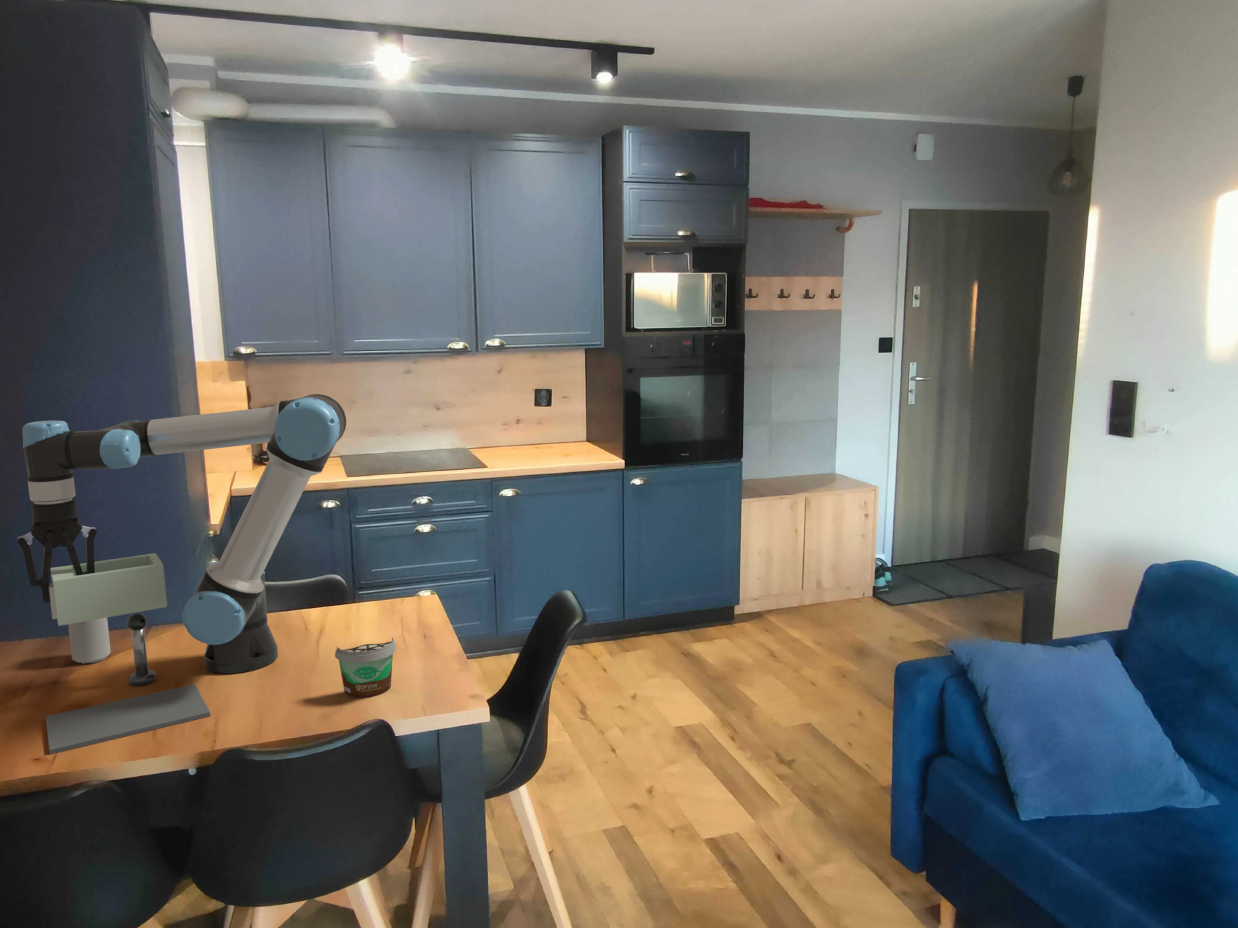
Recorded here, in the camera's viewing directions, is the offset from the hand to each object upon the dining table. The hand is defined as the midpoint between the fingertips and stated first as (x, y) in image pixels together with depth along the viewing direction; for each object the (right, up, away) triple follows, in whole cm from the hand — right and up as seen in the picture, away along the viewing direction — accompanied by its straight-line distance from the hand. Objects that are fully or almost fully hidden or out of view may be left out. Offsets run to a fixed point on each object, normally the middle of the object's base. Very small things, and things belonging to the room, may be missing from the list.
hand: (67, 614), depth 174 cm
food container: (+60, -17, +4) cm, 62 cm away
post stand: (+10, -16, +10) cm, 21 cm away
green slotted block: (+6, 0, +4) cm, 8 cm away
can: (-8, -14, +22) cm, 27 cm away
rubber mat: (+16, -19, -7) cm, 26 cm away
